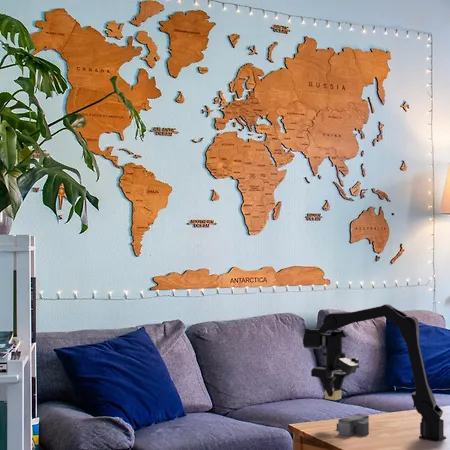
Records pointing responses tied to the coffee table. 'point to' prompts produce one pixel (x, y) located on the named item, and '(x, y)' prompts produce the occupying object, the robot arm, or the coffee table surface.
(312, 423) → the coffee table surface
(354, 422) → the curved dark grey plate
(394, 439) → the coffee table surface
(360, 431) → the stepped grey block
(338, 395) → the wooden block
